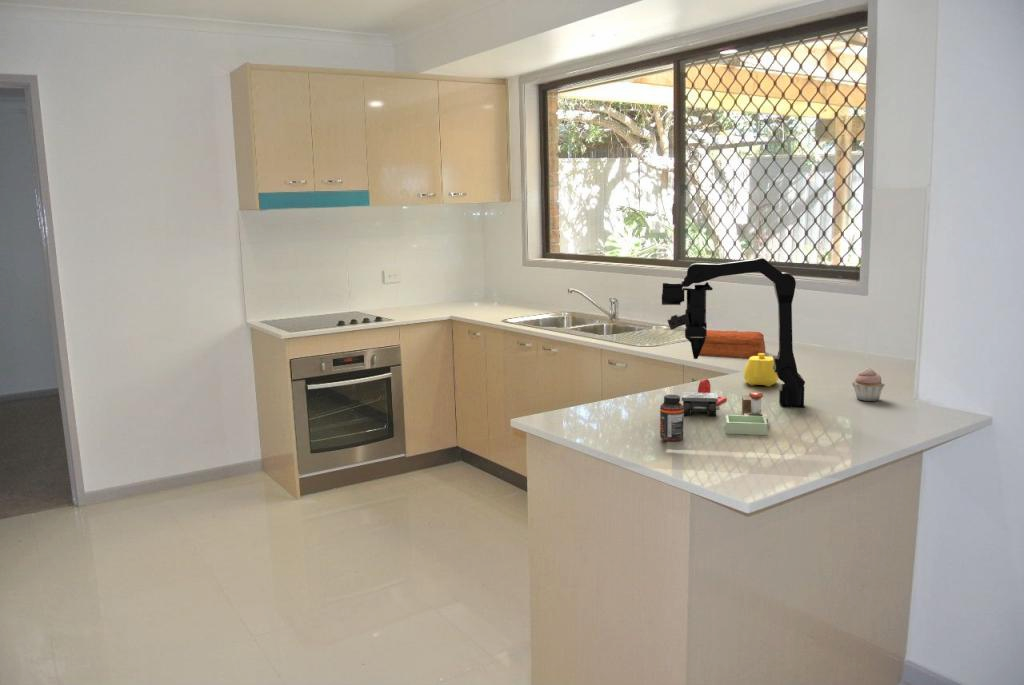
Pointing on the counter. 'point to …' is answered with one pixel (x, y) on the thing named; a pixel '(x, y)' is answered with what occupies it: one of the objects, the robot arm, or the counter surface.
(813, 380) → the counter surface
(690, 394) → the trolley
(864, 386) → the cupcake
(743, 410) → the block
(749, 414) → the pin socket
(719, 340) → the bread
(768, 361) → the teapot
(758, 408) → the pin
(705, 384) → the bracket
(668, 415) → the supplement bottle
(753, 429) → the tray
